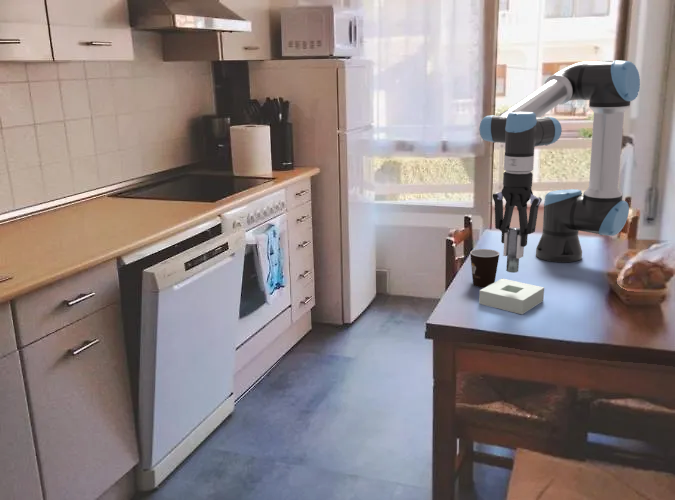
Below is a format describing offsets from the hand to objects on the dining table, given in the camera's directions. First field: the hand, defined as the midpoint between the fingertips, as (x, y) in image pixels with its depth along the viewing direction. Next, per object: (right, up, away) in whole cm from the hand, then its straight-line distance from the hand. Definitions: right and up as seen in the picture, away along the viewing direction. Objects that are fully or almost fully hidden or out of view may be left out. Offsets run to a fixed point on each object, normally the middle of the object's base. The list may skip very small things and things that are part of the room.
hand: (513, 255), depth 174 cm
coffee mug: (-3, -9, +21) cm, 23 cm away
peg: (0, -4, +1) cm, 4 cm away
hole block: (+1, -13, +4) cm, 14 cm away
